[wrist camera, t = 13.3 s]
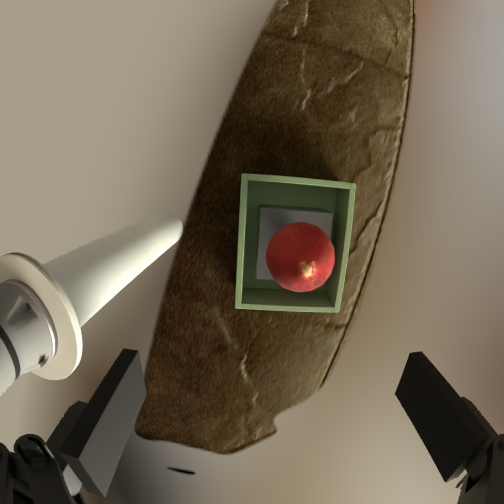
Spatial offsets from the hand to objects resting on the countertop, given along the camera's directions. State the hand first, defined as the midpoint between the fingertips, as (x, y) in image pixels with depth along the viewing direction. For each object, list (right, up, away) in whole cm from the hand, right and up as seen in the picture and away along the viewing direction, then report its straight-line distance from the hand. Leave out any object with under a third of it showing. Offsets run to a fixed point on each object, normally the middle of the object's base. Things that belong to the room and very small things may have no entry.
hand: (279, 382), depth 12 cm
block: (+3, +8, +20) cm, 22 cm away
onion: (+3, +6, +16) cm, 17 cm away
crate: (+3, +8, +20) cm, 22 cm away
